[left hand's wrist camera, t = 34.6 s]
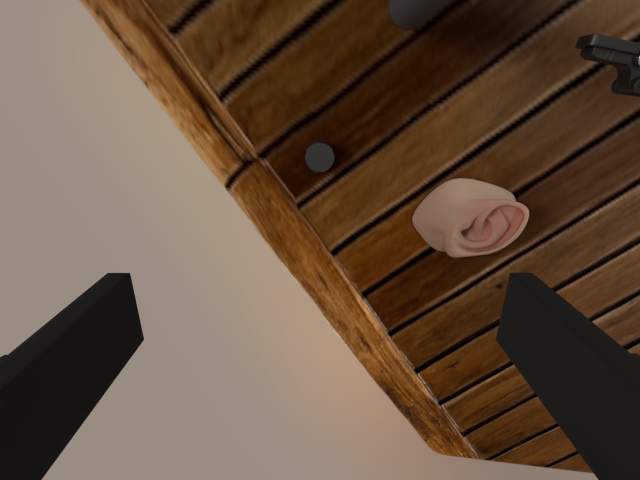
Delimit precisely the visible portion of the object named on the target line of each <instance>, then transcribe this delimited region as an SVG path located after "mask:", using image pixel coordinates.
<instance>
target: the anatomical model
mask: <svg viewBox="0 0 640 480" xmlns="http://www.w3.org/2000/svg"><path fill="white" fill-rule="evenodd" d="M528 218H529V210H528V208H527V207H526V206H525V205H523V204H521V203H519V202H516V200H515V197H514V195H513V194H512V193H511V192H509V191H507V190H506V189H504V188H501V187H499V186H496V185H493V184H489V183H486V182H482V181H478V180H473V179H466V178H457V179H452V180H449V181H447V182H445V183H443V184H441V185H440V186H438V187H437V188H436V189H435V190H433V191H432V192H431V193H430V194H429V195H428V196H427V197H426V198H425V199H424V200H423V201H422V202H421V204H420V205H419V206H418V207H417V209H416V210H415V212H414V214H413V218H412V221H413V224H414V226H415V228H416V230H417V231H418V232H419V234H420V235H421V236H422V238H423V239H424V240H425V241H426V242H427V243H428V244H429V245H430V246H431V247H433V248H434V249H436V250H438V251H444V252H446V253H447V254H448V255H449V256H451V257H455V258H457V257H467V256H478V255H485V254H490V253H493V252H496V251H498V250H501V249H502V248H504V247H506V246H507V245H509V244H510V243H511V242H513V241H514V240H515V239H516V238H517V237H518V236H519V235H520V234H521V232H522V231H523V229H524V228H525V226H526V224H527V221H528Z"/></svg>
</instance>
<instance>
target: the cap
mask: <svg viewBox="0 0 640 480" xmlns="http://www.w3.org/2000/svg"><path fill="white" fill-rule="evenodd" d="M305 159H306V163H307V165H308V167H309V168H310V169H312V170H313V171H316V172H324V171H326V170H328V169H329V168H330V167H331V166H332V165H333V162H334V152H333V149H332V147H331V146H330V145H329V144H328V143H326V142H323V141H316V142H314V143H312V144H311V145H310V146H309V147H308V149H307V151H306V155H305Z"/></svg>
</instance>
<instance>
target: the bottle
mask: <svg viewBox="0 0 640 480" xmlns="http://www.w3.org/2000/svg"><path fill="white" fill-rule="evenodd" d="M450 1H451V0H390V1H389V14H390V17H391V19H392V21H393V22H394V23H395V24H396V25H397V26H399V27H401V28H404V29H411V28H414V27H416V26H418V25H419V24H421V23H422V22H423V21H425V20H426V19H427V18H429V17H430V16H431V15H432V14H434V13H435V12H436V11H438V10H439V9H440V8H442V7H443V6H444V5H446V4H447V3H448V2H450Z"/></svg>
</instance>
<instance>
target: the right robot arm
mask: <svg viewBox="0 0 640 480" xmlns="http://www.w3.org/2000/svg"><path fill="white" fill-rule="evenodd" d="M575 48H578V49H582V52H581V54H580V56H581V57H583V58H584V59H585V60H590V61H595V62H599V63H604V64H609V65H613V66H615V67H616V68H617V70H618V77H617V80H615V81H614V82H613V84H612V87H611V89H612V92H613V93H615V94H622V95H630V96H637V97H640V43H636V42H631V41H626V40H622V39H617V38H613V37H608V36H603V35H596V34H594V35H587V36H583V37H579V39H578V42H577V44H576V47H575Z"/></svg>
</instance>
